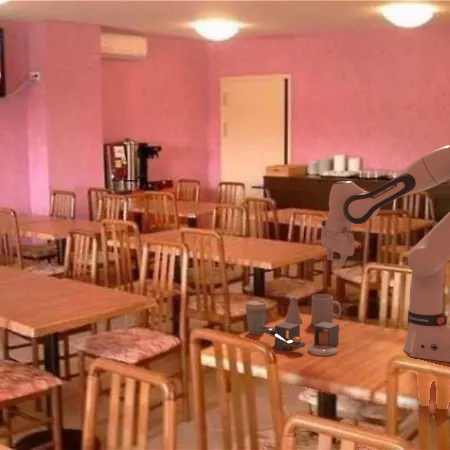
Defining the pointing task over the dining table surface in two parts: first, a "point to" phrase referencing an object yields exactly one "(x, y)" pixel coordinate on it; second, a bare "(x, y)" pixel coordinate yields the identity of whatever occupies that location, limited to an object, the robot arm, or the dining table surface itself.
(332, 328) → the hood
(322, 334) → the block
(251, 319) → the coffee cup
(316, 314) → the mug
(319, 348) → the saucer
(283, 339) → the balance
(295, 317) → the flask
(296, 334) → the hood
